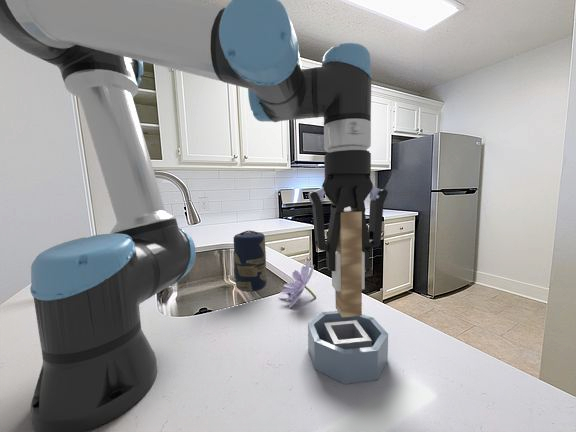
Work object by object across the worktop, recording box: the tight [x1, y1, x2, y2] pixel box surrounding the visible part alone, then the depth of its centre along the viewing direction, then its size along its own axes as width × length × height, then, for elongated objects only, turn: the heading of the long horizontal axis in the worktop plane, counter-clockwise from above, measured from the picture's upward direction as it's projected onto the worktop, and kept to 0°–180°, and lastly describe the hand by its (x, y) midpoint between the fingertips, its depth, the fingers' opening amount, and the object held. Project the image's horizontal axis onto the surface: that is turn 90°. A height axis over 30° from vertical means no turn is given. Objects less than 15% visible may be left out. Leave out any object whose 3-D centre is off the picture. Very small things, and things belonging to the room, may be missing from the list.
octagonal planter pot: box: [307, 310, 389, 385], centre depth 44 cm, size 13×13×5 cm
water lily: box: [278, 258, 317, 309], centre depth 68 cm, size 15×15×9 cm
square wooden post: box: [334, 209, 363, 318], centre depth 43 cm, size 4×4×18 cm
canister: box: [233, 230, 267, 293], centre depth 75 cm, size 10×10×18 cm
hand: (347, 286), depth 43 cm, fingers closed on square wooden post, 3 cm apart
